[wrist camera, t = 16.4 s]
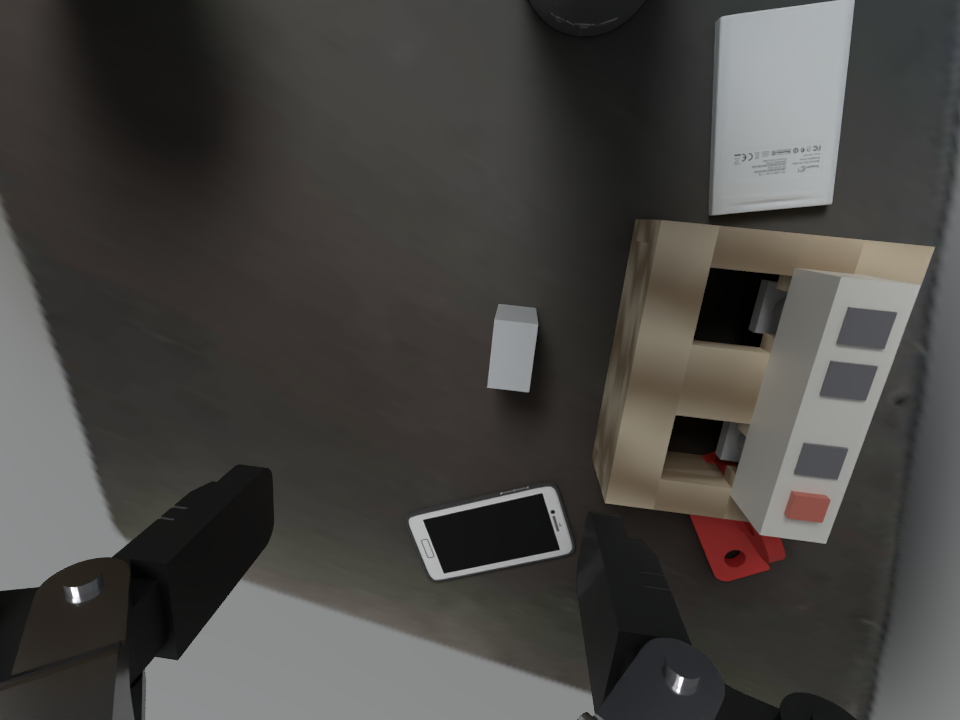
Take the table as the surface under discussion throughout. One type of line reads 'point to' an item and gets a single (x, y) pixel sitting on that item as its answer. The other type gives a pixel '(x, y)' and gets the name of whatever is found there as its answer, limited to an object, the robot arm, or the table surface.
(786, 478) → the power strip
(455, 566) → the cell phone
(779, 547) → the bracket
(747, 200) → the external hard drive
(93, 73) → the table surface
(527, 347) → the block
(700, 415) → the wooden block with holes
